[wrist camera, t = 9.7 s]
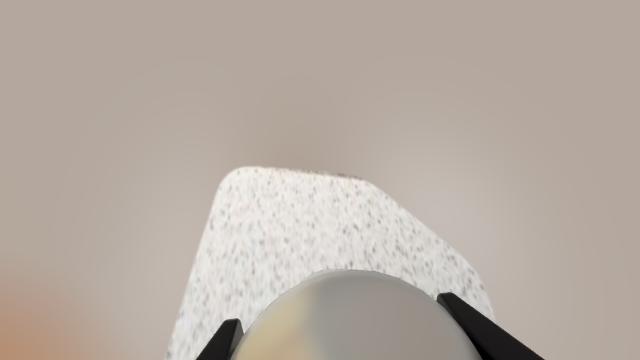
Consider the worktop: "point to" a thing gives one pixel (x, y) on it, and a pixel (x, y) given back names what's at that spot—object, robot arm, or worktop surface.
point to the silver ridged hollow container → (354, 322)
